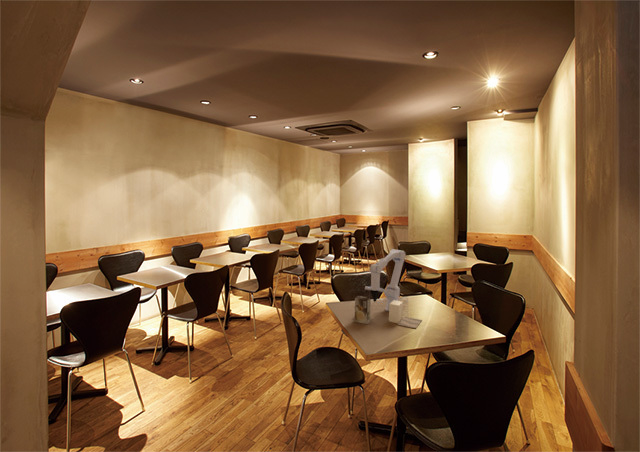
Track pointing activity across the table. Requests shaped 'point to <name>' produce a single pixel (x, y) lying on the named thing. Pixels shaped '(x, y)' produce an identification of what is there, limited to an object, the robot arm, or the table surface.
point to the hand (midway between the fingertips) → (374, 301)
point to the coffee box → (362, 309)
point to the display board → (409, 322)
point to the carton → (395, 311)
